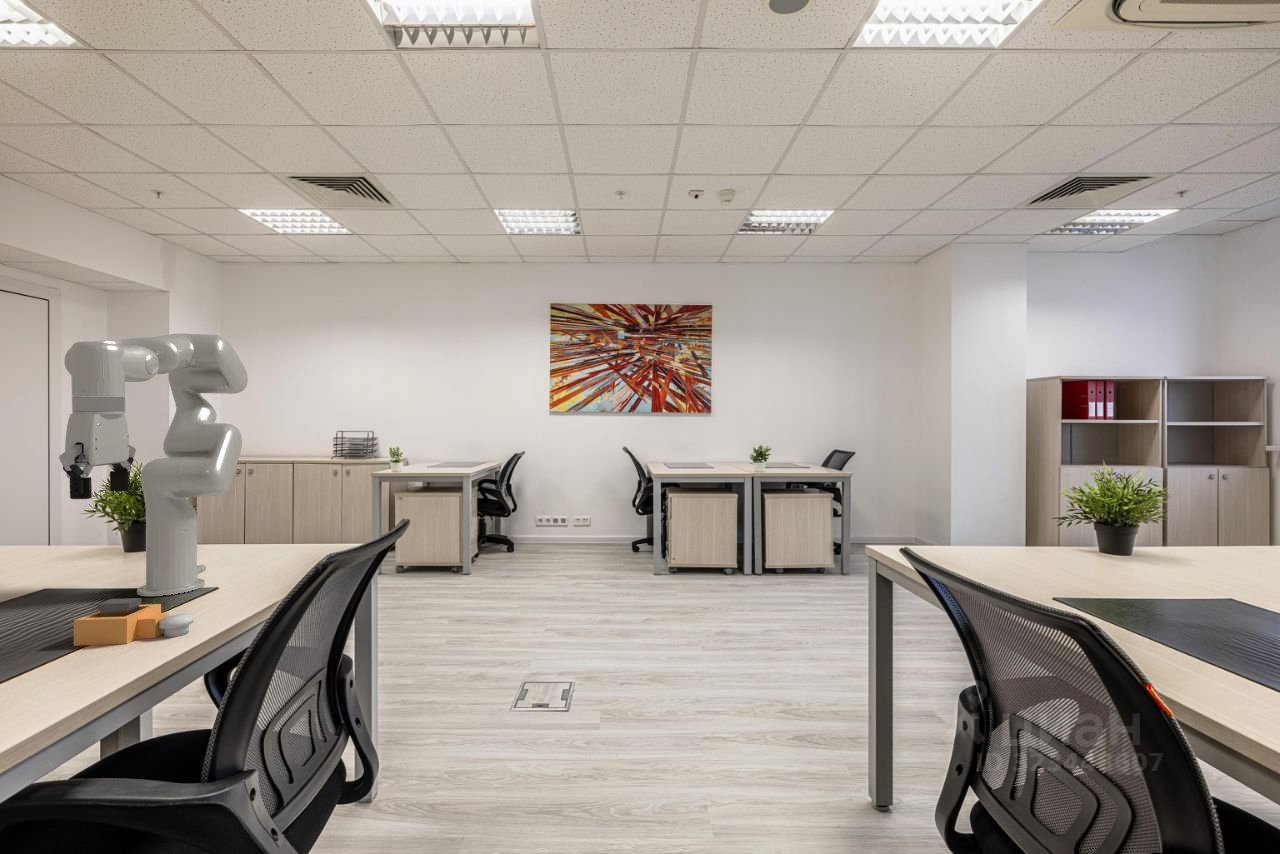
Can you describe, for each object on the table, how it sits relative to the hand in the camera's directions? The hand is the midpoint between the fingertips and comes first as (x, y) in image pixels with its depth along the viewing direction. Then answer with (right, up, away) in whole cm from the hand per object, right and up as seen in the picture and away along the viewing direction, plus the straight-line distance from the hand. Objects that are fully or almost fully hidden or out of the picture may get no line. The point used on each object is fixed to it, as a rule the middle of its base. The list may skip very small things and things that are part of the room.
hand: (101, 494), depth 112 cm
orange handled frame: (+12, -26, -5) cm, 29 cm away
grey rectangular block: (+8, -26, -5) cm, 27 cm away
